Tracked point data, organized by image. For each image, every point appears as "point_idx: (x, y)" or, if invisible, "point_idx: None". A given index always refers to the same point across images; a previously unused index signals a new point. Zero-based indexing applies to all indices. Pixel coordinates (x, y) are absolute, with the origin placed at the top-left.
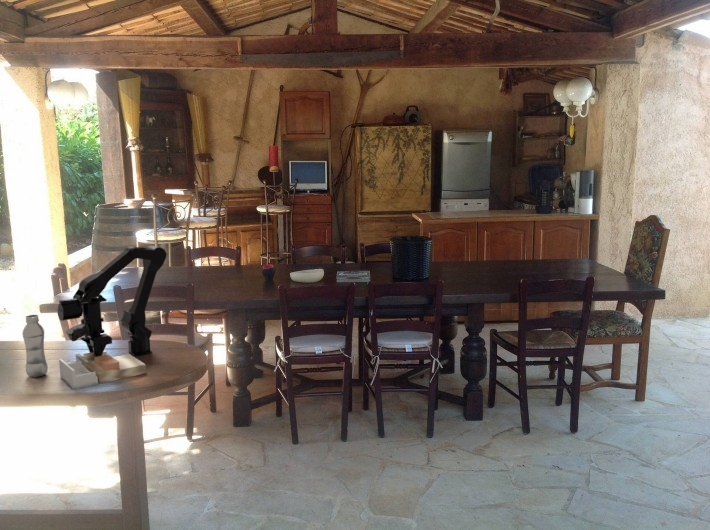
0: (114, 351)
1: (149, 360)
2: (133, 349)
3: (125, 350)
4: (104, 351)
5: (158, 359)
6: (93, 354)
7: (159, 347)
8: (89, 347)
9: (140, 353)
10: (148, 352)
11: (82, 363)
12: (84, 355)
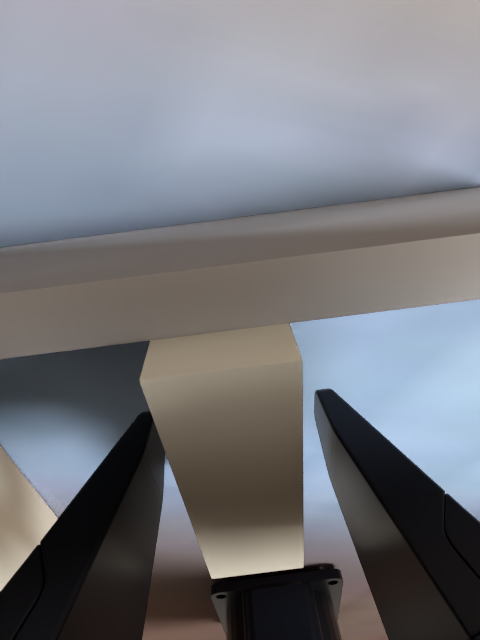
0: None
1: None
2: (247, 634)
3: None
4: (231, 568)
5: None
6: (176, 477)
7: None
8: (401, 548)
9: (222, 609)
10: (222, 625)
11: (151, 242)
12: (229, 359)
